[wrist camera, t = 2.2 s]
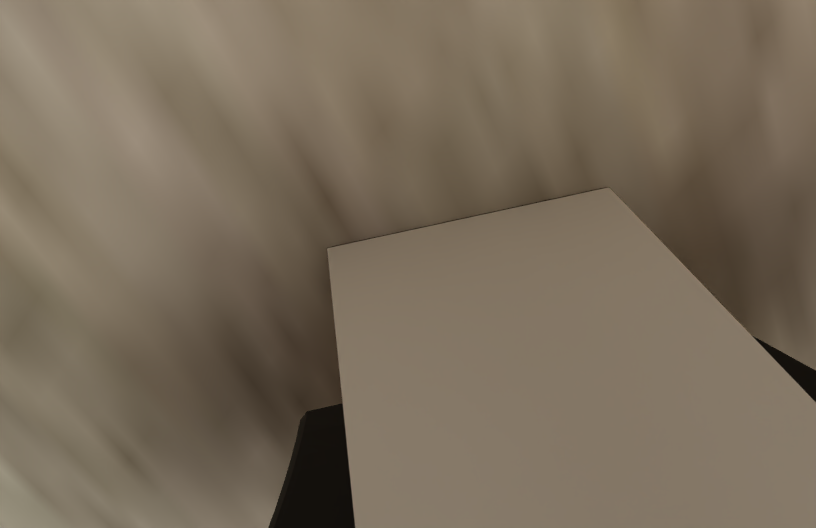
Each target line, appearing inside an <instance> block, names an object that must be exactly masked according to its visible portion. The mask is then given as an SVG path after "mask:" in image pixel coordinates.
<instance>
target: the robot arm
mask: <svg viewBox="0 0 816 528" xmlns="http://www.w3.org/2000/svg"><path fill="white" fill-rule="evenodd" d="M752 337H753V338H754V339H755V340H756V341H757V342H758V343H759V344H760V345H761V346H762V347H763V348H764V349H765V350H766V351H767V352H768V353H769V354H770V355H771V356H772V357H773V358H774V359H775V360H776V362H777V363H778V364H779V365H780V366H781V367H782V368H783V369H784V370H785V371H786V372H787V373H788V374H789V375H790V376H791V377H792V378H793V379H794V380H795V381H796V382H797V383H798V384H799V385H800V387H801V388H802V389H803V390H804V391H805V392H806V393H807V394H808V395H809V396H810V397H811V398H812V399H813V400H814V401H815V402H816V371H815V370H813V369H812V368H810V367H808V366H806V365H804V364H803V363H801V362H799V361H797V360H795V359H793V358H792V357H790V356H788V355H786V354H784V353H783V352H781V351H779V350H777V349H775V348H774V347H772V346H770V345H768V344H766V343H765V342H763V341H761V340H759V339H757V338H755V337H754V336H752ZM269 528H355V520H354V510H353V500H352V490H351V481H350V471H349V461H348V451H347V441H346V431H345V421H344V411H343V404H338V405H334V406H329V407H325V408H321V409H316V410H312V411H307V412H306V414H305V415H304V416H303V418H302V419H301V420H300V424H299V429H298V434H297V438H296V442H295V446H294V450H293V453H292V457H291V461H290V464H289V467H288V471H287V474H286V477H285V481H284V484H283V487H282V490H281V493H280V496H279V499H278V502H277V505H276V508H275V511H274V514H273V517H272V519H271V522H270V525H269Z"/></svg>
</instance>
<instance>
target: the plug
mask: <svg viewBox="0 0 816 528" xmlns="http://www.w3.org/2000/svg"><path fill="white" fill-rule="evenodd" d="M327 253H328V263H329V273H330V283H331V293H332V302H333V312H334V322H335V332H336V342H337V352H338V362H339V372H340V382H341V391H342V401H343V411H344V421H345V431H346V441H347V451H348V461H349V471H350V481H351V490H352V500H353V510H354V520H355V528H816V402H815V401H814V400H813V399H812V398H811V397H810V396H809V395H808V394H807V393H806V392H805V391H804V390H803V389H802V388H801V387H800V385H799V384H798V383H797V382H796V381H795V380H794V379H793V378H792V377H791V376H790V375H789V374H788V373H787V372H786V371H785V370H784V369H783V368H782V367H781V366H780V365H779V364H778V363H777V362H776V360H775V359H774V358H773V357H772V356H771V355H770V354H769V353H768V352H767V351H766V350H765V349H764V348H763V347H762V346H761V345H760V344H759V343H758V342H757V341H756V340H755V339H754V338H753V337H752V335H751V334H750V333H749V332H748V331H747V330H746V329H745V328H744V327H743V326H742V325H741V324H740V323H739V322H738V321H737V320H736V319H735V318H734V317H733V316H732V315H731V314H730V313H729V312H728V310H727V309H726V308H725V307H724V306H723V305H722V304H721V303H720V302H719V301H718V300H717V299H716V298H715V297H714V296H713V295H712V294H711V293H710V292H709V291H708V290H707V289H706V288H705V287H704V285H703V284H702V283H701V282H700V281H699V280H698V279H697V278H696V277H695V276H694V275H693V274H692V273H691V272H690V271H689V270H688V269H687V268H686V267H685V266H684V265H683V264H682V263H681V262H680V260H679V259H678V258H677V257H676V256H675V255H674V254H673V253H672V252H671V251H670V250H669V249H668V248H667V247H666V246H665V245H664V244H663V243H662V242H661V241H660V240H659V239H658V238H657V236H656V235H655V234H654V233H653V232H652V231H651V230H650V229H649V228H648V227H647V226H646V225H645V224H644V223H643V222H642V221H641V220H640V219H639V218H638V217H637V216H636V215H635V214H634V213H633V211H632V210H631V209H630V208H629V207H628V206H627V205H626V204H625V203H624V202H623V201H622V200H621V199H620V198H619V197H618V196H617V195H616V194H615V193H614V192H613V191H612V190H611V189H610V188H609V187H608V188H604V189H599V190H595V191H590V192H585V193H581V194H576V195H571V196H567V197H562V198H558V199H553V200H548V201H544V202H539V203H534V204H530V205H525V206H521V207H516V208H511V209H507V210H502V211H497V212H493V213H488V214H483V215H479V216H474V217H470V218H465V219H460V220H456V221H451V222H446V223H442V224H437V225H433V226H428V227H423V228H419V229H414V230H409V231H405V232H400V233H396V234H391V235H386V236H382V237H377V238H372V239H368V240H363V241H359V242H354V243H349V244H345V245H340V246H335V247H331V248H327Z"/></svg>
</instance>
